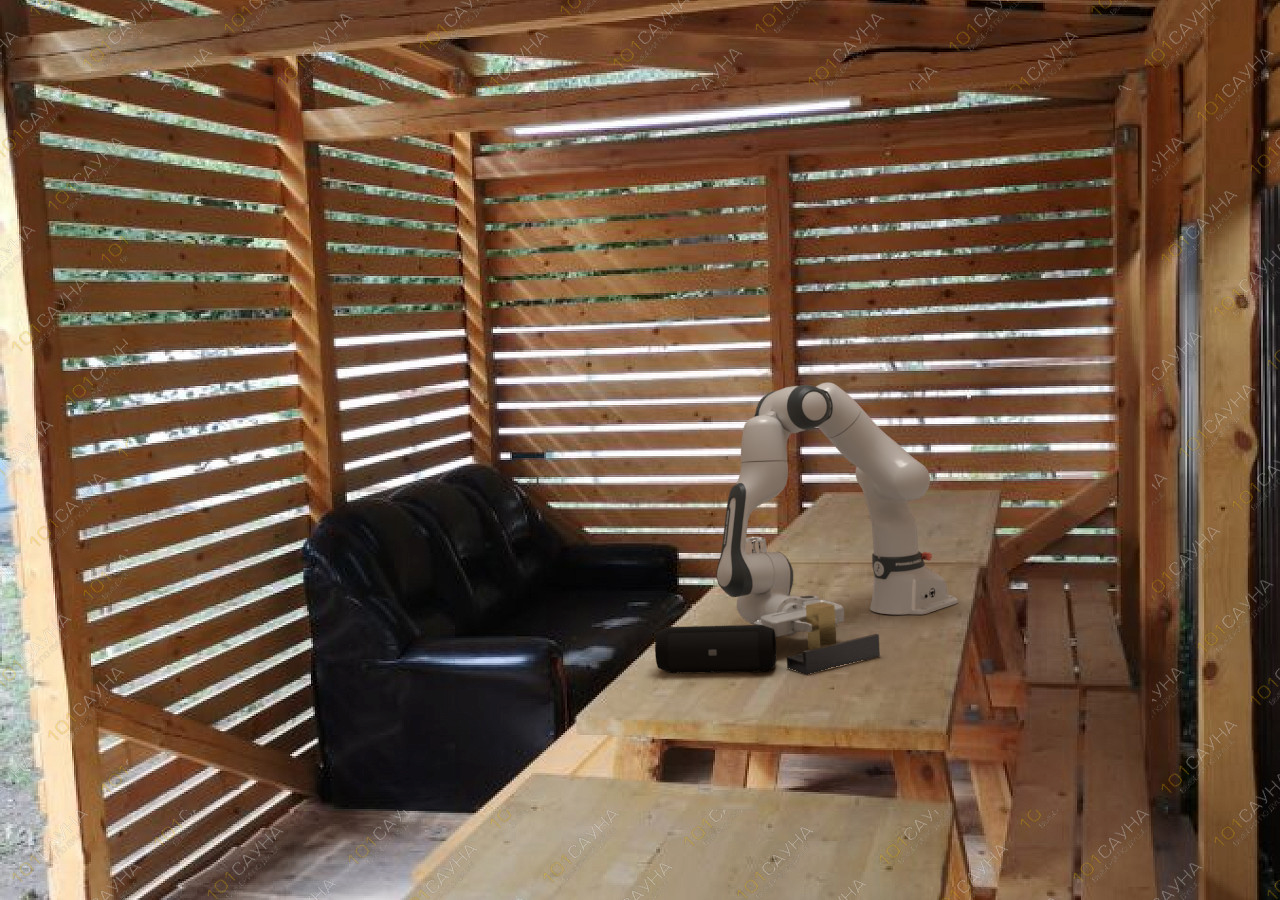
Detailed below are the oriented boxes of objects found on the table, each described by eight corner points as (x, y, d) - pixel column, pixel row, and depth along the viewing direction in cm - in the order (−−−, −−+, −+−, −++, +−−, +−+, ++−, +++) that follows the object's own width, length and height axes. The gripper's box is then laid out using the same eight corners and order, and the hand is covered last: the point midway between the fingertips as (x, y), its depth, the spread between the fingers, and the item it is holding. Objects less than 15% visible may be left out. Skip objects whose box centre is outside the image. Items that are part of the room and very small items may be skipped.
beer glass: (752, 597, 363) (749, 542, 361) (739, 593, 369) (735, 539, 367) (774, 592, 366) (771, 538, 364) (760, 588, 372) (757, 535, 370)
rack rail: (787, 668, 292) (785, 646, 291) (859, 650, 302) (858, 629, 301) (806, 675, 286) (805, 652, 285) (879, 656, 296) (878, 634, 295)
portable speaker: (656, 678, 292) (652, 633, 291) (664, 665, 302) (661, 622, 301) (773, 676, 287) (770, 631, 286) (777, 664, 297) (775, 619, 296)
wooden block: (824, 645, 303) (821, 601, 302) (836, 649, 299) (834, 605, 298) (808, 649, 301) (805, 605, 300) (820, 652, 297) (818, 608, 296)
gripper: (748, 609, 305) (784, 620, 293) (820, 594, 315) (858, 603, 303) (750, 636, 306) (786, 648, 294) (822, 620, 316) (859, 631, 304)
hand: (823, 625), depth 299 cm, fingers closed on wooden block, 4 cm apart
